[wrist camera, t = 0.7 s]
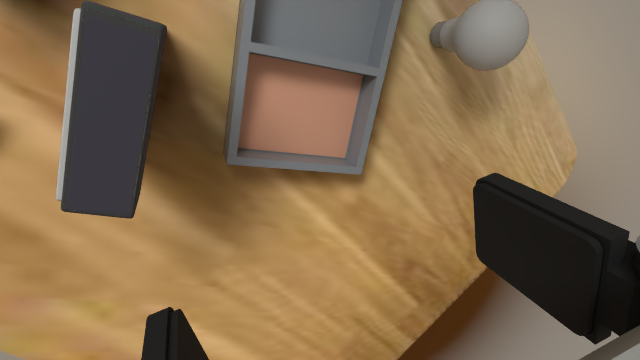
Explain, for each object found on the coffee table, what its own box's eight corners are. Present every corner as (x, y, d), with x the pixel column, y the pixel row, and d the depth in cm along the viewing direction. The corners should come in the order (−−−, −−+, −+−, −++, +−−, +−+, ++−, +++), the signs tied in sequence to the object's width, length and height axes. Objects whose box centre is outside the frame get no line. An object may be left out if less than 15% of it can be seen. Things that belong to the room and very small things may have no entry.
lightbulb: (431, -9, 37) (517, -24, 28) (468, 24, 40) (558, 21, 30) (401, 45, 38) (473, 49, 29) (439, 74, 41) (516, 86, 32)
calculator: (116, 10, 29) (60, -8, 16) (173, 28, 31) (164, 24, 18) (100, 139, 32) (42, 212, 19) (152, 149, 34) (132, 222, 21)
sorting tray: (249, -90, 30) (257, -105, 27) (393, -41, 35) (413, -48, 32) (223, 153, 36) (226, 164, 33) (348, 164, 41) (361, 174, 38)
